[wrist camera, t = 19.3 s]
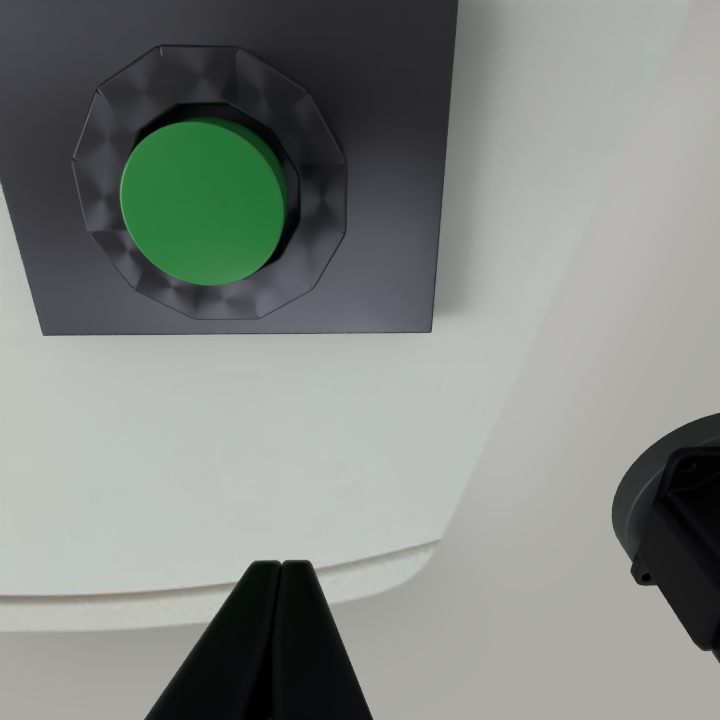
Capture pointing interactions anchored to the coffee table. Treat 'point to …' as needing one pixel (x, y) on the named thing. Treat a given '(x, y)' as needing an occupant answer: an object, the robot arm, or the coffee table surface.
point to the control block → (259, 114)
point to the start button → (205, 200)
